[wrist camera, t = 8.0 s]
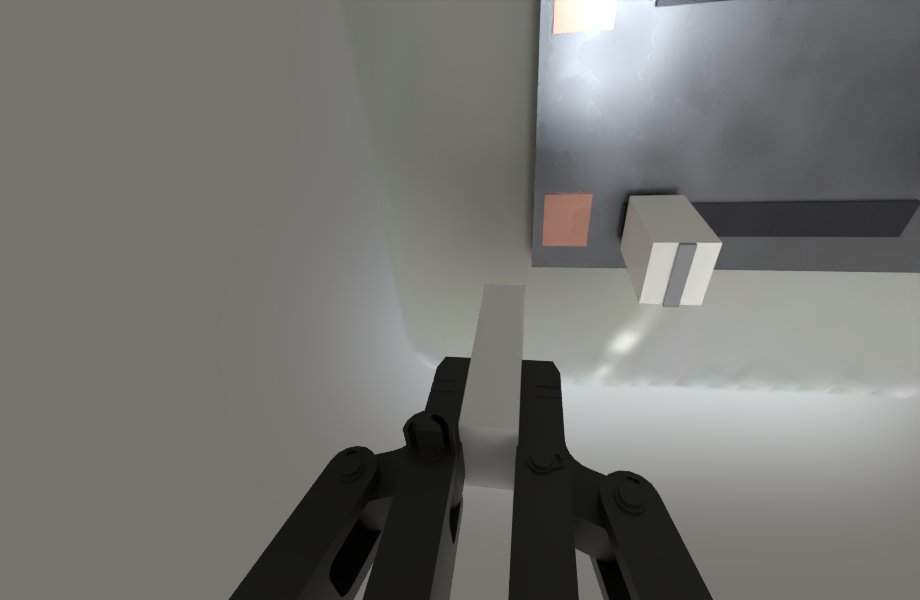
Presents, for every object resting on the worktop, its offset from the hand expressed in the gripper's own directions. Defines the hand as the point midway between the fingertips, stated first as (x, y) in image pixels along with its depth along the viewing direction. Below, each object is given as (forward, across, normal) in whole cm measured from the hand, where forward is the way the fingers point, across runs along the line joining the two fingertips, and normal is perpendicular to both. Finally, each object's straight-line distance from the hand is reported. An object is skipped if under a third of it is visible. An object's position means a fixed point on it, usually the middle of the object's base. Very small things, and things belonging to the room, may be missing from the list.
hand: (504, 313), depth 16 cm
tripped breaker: (+8, +7, 0) cm, 10 cm away
